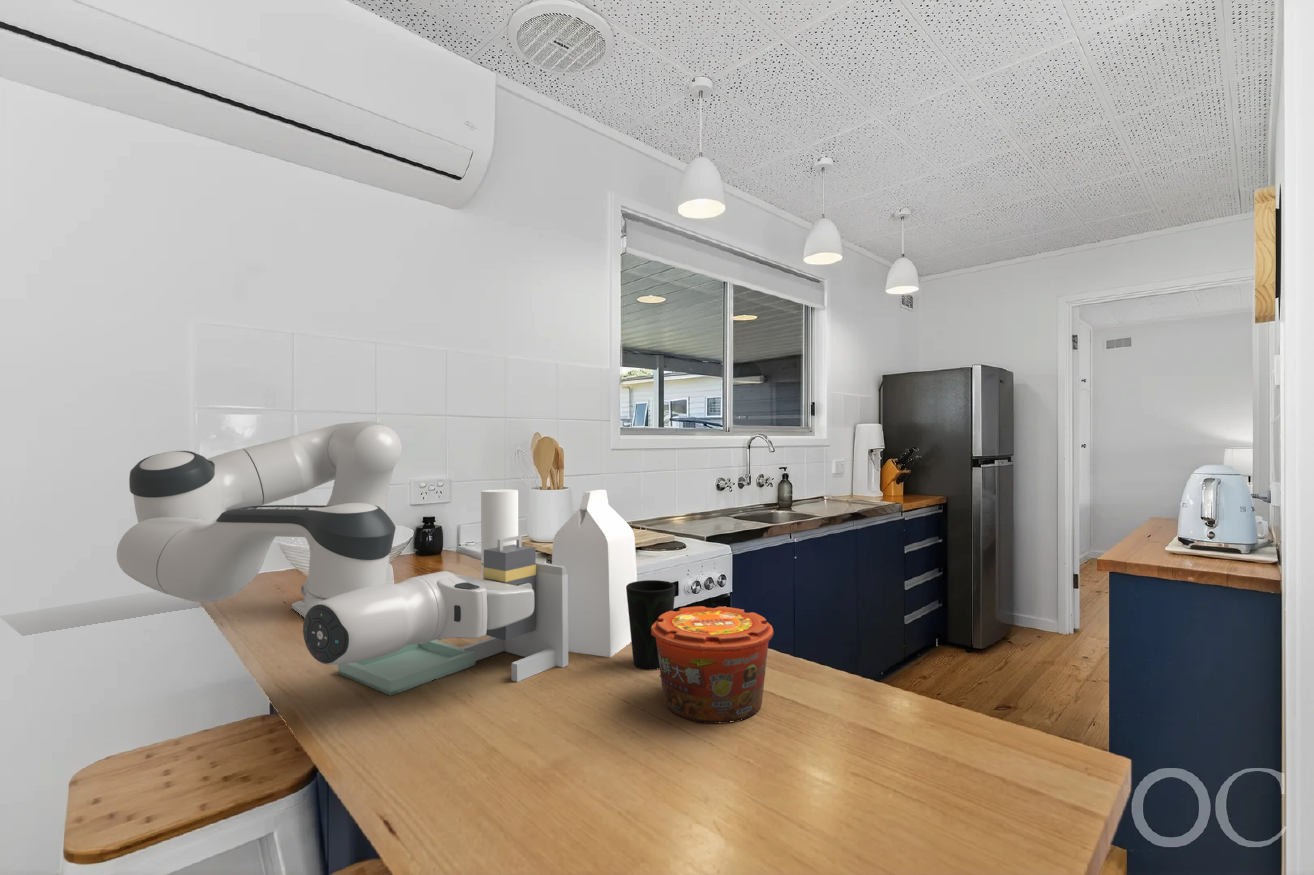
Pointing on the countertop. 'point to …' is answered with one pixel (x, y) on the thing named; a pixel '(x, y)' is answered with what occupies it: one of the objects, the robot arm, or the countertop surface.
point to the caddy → (512, 579)
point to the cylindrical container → (498, 518)
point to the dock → (537, 629)
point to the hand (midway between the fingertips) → (514, 585)
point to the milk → (596, 575)
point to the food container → (712, 662)
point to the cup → (647, 617)
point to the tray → (409, 666)
